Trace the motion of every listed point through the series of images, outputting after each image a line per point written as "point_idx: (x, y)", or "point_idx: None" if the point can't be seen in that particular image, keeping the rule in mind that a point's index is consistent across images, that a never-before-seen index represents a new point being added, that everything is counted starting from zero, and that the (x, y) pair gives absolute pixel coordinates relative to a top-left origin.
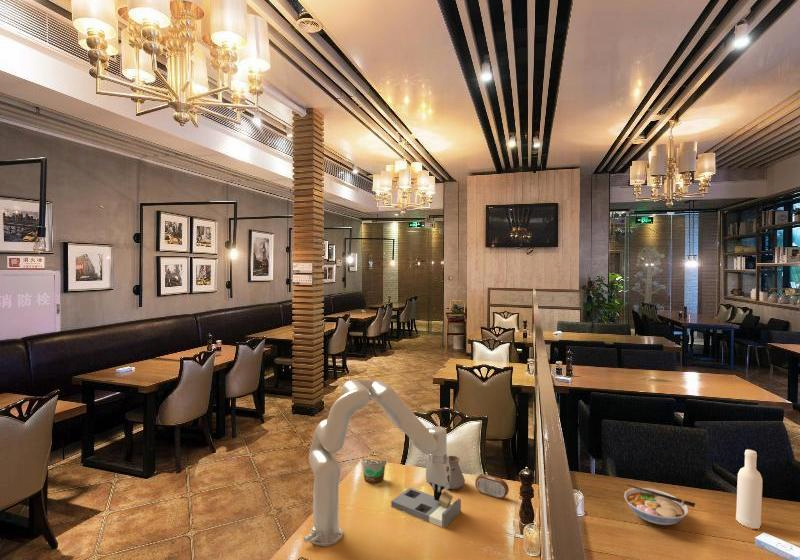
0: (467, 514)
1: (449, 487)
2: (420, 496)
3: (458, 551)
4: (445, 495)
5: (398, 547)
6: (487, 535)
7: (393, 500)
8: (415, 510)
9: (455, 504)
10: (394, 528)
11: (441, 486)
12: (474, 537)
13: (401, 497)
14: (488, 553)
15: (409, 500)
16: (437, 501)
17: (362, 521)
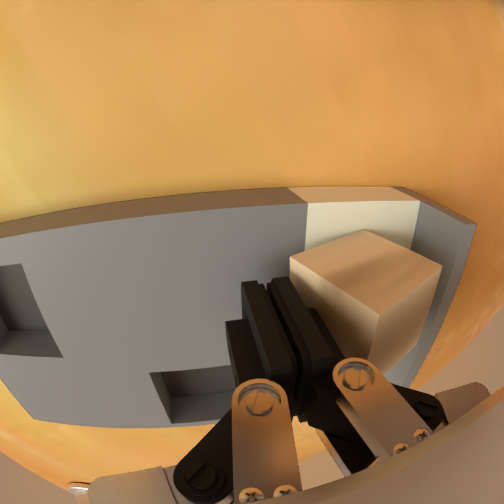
0: (436, 189)
1: (484, 388)
2: (60, 309)
3: (416, 386)
4: (391, 352)
5: None
6: (490, 273)
7: (33, 414)
8: (186, 425)
9: (444, 311)
10: (184, 456)
11: (372, 415)
12: (460, 314)
13: (19, 382)
14: (478, 333)
15: (68, 385)
16: (238, 274)
17: (87, 464)
